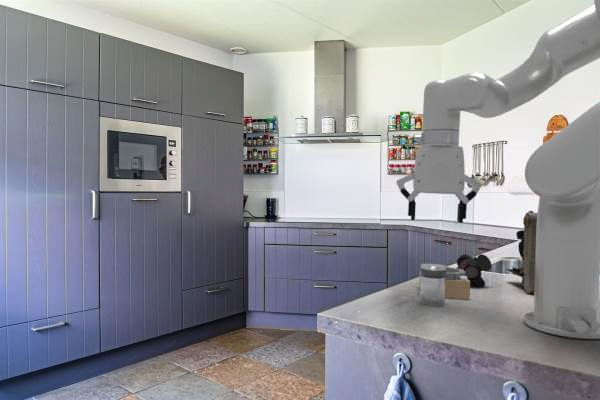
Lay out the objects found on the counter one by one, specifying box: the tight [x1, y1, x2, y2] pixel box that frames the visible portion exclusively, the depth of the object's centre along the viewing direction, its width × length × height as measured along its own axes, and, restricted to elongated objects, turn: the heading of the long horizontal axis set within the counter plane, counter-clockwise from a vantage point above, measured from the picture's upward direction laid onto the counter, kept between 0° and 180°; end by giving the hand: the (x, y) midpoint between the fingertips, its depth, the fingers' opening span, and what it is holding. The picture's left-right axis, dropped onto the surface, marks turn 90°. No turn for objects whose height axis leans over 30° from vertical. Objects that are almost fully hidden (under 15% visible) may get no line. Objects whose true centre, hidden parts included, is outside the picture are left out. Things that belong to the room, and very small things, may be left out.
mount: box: [418, 266, 471, 300], centre depth 98 cm, size 10×10×6 cm
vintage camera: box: [506, 210, 538, 295], centre depth 105 cm, size 10×16×20 cm, turn 174°
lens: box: [419, 263, 447, 307], centre depth 89 cm, size 5×5×8 cm
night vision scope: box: [456, 254, 492, 288], centre depth 112 cm, size 8×18×10 cm
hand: (436, 221), depth 89 cm, fingers open, 9 cm apart
